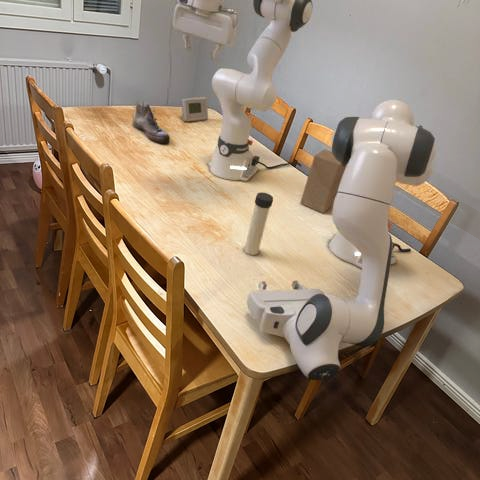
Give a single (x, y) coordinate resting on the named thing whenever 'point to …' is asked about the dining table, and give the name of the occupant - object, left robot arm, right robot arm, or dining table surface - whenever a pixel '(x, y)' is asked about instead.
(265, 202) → the lid
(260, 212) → the beige cylindrical bottle
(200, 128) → the dining table surface
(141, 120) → the shoe
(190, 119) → the digital clock
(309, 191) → the wooden block
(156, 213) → the dining table surface
